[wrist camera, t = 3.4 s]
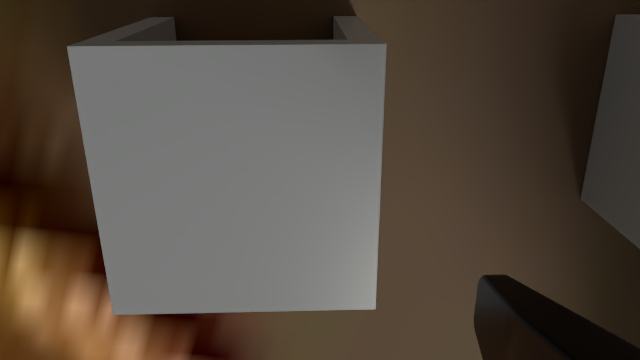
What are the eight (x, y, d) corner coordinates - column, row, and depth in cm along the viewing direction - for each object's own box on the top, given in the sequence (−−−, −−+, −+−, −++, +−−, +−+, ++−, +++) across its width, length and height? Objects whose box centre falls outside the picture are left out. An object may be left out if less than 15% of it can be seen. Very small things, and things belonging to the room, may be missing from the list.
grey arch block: (356, 15, 18) (386, 44, 12) (352, 203, 21) (375, 309, 15) (150, 17, 18) (66, 46, 12) (171, 205, 21) (113, 314, 14)
